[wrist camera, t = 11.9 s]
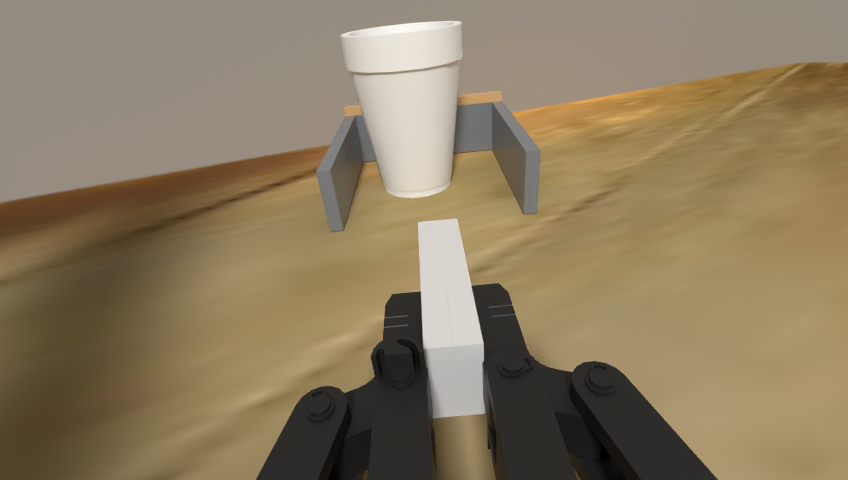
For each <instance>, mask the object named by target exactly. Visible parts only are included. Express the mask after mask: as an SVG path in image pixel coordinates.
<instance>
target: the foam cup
mask: <svg viewBox="0 0 848 480" xmlns="http://www.w3.org/2000/svg"><path fill="white" fill-rule="evenodd" d="M340 38H341V43H342V49H343V55H344V60H345V66H346V68H347V69H348V70H349V71H350V75H351V79H352V82H353V85H354V89H355V91H356V95H357V98H358V102H359V105H360V109H361V112H362V116H363V119H364V122H365V126H366V129H367V132H368V136H369V139H370V142H371V146H372V149H373V152H374V156H375V159H376V163H377V166H378V169H379V173H380V176H381V179H382V182H383V184H384V188H385V190H386V191H387V193H389V194H391V195H394V196H397V197H404V198H418V197H426V196H431V195H434V194H436V193H439V192H442V191H444V190H445V189H446V188H447V187H449V186H450V184H451V175H452V165H453V151H454V138H455V124H456V110H457V97H458V83H459V68H460V59H461V58H462V56H463V43H462V22H458V21H434V22H420V23H408V24H399V25H390V26H382V27H376V28H369V29H363V30H358V31H353V32H348V33H345V34H342V35H340Z"/></svg>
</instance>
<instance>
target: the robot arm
mask: <svg viewBox="0 0 848 480" xmlns="http://www.w3.org/2000/svg"><path fill="white" fill-rule="evenodd" d="M418 233H419V256H420V280H421V292H411V293H400V294H392V296H391V297H390V299H389V300H388V302H387V303H386V305H385V319H384V332H383V341H381V342H379V344H378V345H377V346H376V347H375V348H374V349H373V352H372V355H371V360H372V365H373V369H374V374H375V377H374V378H373V379H372V380H371V381H370V382H368V383H367V384H366V385H364V386H361V387H359V388H357V389H354V390H352V391H349V392H346V393H343V392H342V391H341V390H340V389H339V388H335V387H332V386H325V387H319V388H316V389H314V390H311V391H310V392H308V393H307V394H306V395H304V396H303V397H302V398H301V399H300V401H299V402H298V403H297V404H296V406H295V408H294V410H293V412H292V414H291V415H290V417H289V419H288V421H287V423H286V425H285V427H284V428H283V430H282V432H281V434H280V436H279V438H278V440H277V442H276V443H275V445H274V447H273V449H272V451H271V453H270V455H269V456H268V458H267V460H266V462H265V464H264V466H263V468H262V469H261V471H260V473H259V475H258V477H257V479H256V480H362V478H363V475H364V471H366V470H368V469H369V470H368V480H437V465H436V449H435V435H434V427H433V418H441V417H452V416H464V415H475V414H485V410H486V415H487V426H488V449H491V454H492V460H493V466H494V471H495V477H496V480H577V478H576V475H575V472H574V469H573V467H574V468H575V470H576V472H577V473H578V475H579V477H580V478H581V480H718V479H717V478H716V477H715V476H714V475H713V474H712V473H711V472H710V470H709V469H708V468H707V467H706V466H705V465H704V464H703V463H702V461H701V460H700V459H699V458H698V457H697V456H696V455H695V454H694V452H693V451H692V450H691V449H690V448H689V447H688V446H687V445H686V443H685V442H684V441H683V440H682V439H681V438H680V437H679V436H678V434H677V433H676V432H675V431H674V430H673V429H672V428H671V427H670V425H669V424H668V423H667V422H666V421H665V420H664V419H663V418H662V417H661V415H660V414H659V413H658V412H657V411H656V410H655V409H654V408H653V406H652V405H651V404H650V403H649V402H648V401H647V400H646V399H645V397H644V396H643V395H642V394H641V393H640V392H639V391H638V390H637V388H636V387H635V386H634V385H633V384H632V383H631V382H630V381H629V379H628V378H627V377H626V376H625V375H624V374H623V373H622V372H620V371H619V370H618V369H617V368H615V367H613V366H611V365H609V364H606V363H602V362H596V361H592V362H584V363H582V364H580V365H578V366H577V367H576V368H575V369H574V371H573V372H568V371H563V370H557V369H553V368H549V367H546V366H544V365H542V364H540V363H539V362H537V361H536V360H535V359H534V358H533V357H532V356H531V355H530V354H529V352H528V350H527V347H526V344H525V341H524V338H523V335H522V332H521V329H520V326H519V323H518V320H517V317H516V315H515V311H514V308H513V306H512V302H511V299H510V296H509V293H508V292H507V291H506V290H505V289H504V288H503V287H502V286H501V285H500V284H499V283H497V284H486V285H475V286H471V282H470V277H469V273H468V268H467V263H466V258H465V254H464V249H463V244H462V240H461V235H460V230H459V226H458V221H457V219H447V220H437V221H426V222H418ZM572 465H573V466H572Z"/></svg>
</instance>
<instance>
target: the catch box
mask: <svg viewBox="0 0 848 480" xmlns="http://www.w3.org/2000/svg"><path fill="white" fill-rule="evenodd" d="M344 111H345V118H344V120H343V122H342V124H341V126H340V128H339V130H338V132H337V133H336V135H335V137H334V139H333V141H332V143H331V145H330V147H329V148H328V150H327V152H326V154H325V156H324V158H323V160H322V162H321V164H320V165H319V167H318V169H317V171H316V173H317V177H318V181H319V185H320V190H321V194H322V198H323V202H324V206H325V210H326V215H327V219H328V223H329V227H330V231H331V232H333V231H343V230H344V227H345V223H346V220H347V216H348V213H349V209H350V206H351V202H352V199H353V196H354V192H355V189H356V185H357V182H358V178H359V175H360V171H361V168H362V165H363V162H367V161H376V159H375V156H374V152H373V149H372V146H371V142H370V139H369V136H368V132H367V129H366V126H365V122H364V119H363V116H362V112H361V109H360V105H353V106H345V108H344ZM483 150H493V152H494V154H495V156H496V158H497V160H498V162H499V164H500V167H501V169H502V171H503V173H504V175H505V177H506V179H507V181H508V183H509V185H510V187H511V189H512V191H513V193H514V195H515V197H516V199H517V201H518V203H519V205H520V207H521V209H522V212H523V214H532V213H537V202H538V184H539V166H540V149H539V148H538V147H537V145H536V144H535V143H534V142H533V140H532V139H531V138H530V136H529V135H528V134H527V133H526V131H525V130H524V129H523V128H522V126H521V125H520V124H519V122H518V121H517V120H516V119H515V117H514V116H513V115H512V114H511V112H510V111H509V110H508V109H507V107H506V106H505V105H504V104H503V102H502V93H501V92H500V91H494V92H485V93H475V94H464V95H458V97H457V110H456V124H455V138H454V151H453V153H462V152H472V151H483Z"/></svg>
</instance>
